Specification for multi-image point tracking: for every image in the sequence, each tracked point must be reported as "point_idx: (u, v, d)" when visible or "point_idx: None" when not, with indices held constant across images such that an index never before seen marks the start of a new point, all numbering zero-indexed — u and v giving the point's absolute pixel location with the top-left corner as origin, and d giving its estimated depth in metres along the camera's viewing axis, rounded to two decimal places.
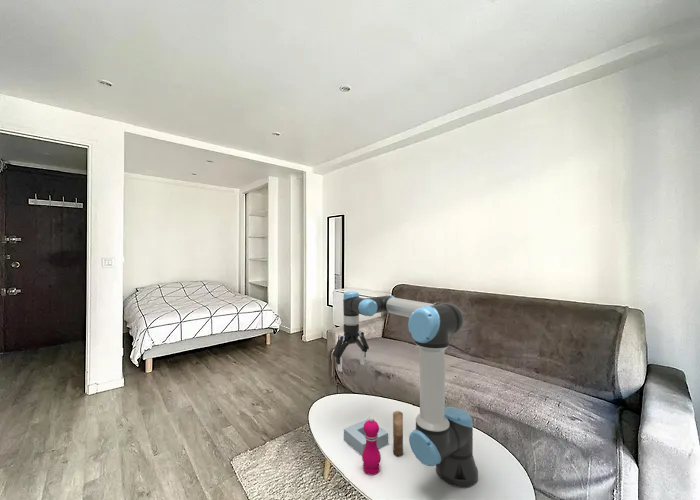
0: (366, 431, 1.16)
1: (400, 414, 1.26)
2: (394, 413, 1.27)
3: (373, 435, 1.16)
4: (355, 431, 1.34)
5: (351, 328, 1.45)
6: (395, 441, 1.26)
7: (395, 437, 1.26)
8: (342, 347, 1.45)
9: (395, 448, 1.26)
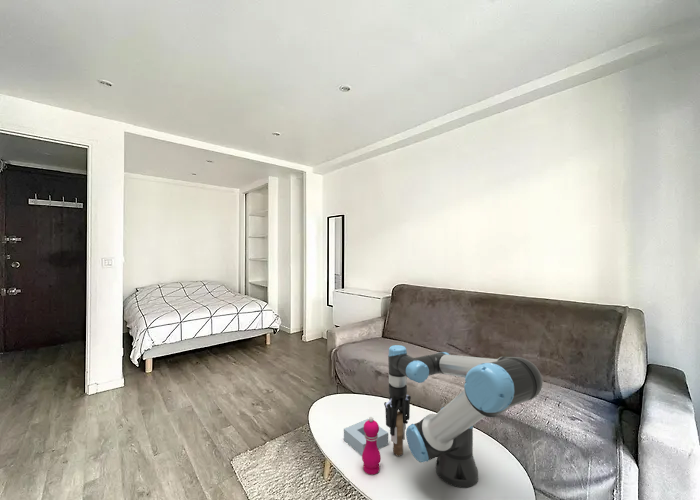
0: (366, 431, 1.16)
1: (400, 414, 1.26)
2: None
3: (373, 435, 1.16)
4: (355, 431, 1.34)
5: (399, 390, 1.24)
6: None
7: None
8: (393, 415, 1.25)
9: (395, 448, 1.26)
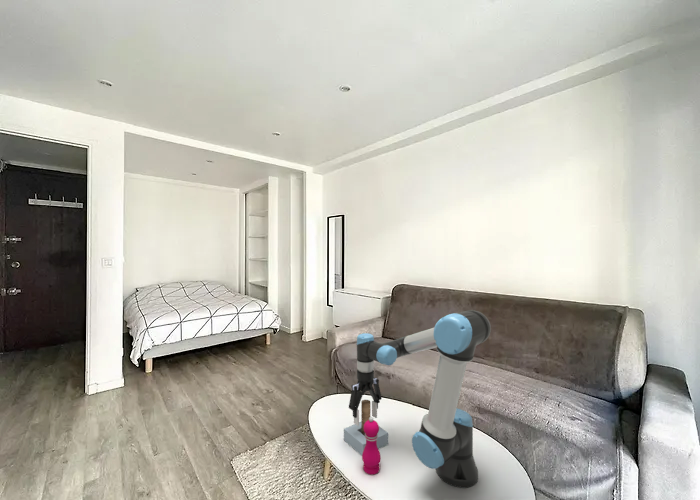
0: (366, 431, 1.16)
1: (368, 402, 1.34)
2: (362, 401, 1.35)
3: (373, 435, 1.16)
4: (355, 431, 1.34)
5: (365, 375, 1.31)
6: (363, 427, 1.34)
7: (363, 424, 1.34)
8: (357, 398, 1.32)
9: (363, 434, 1.34)
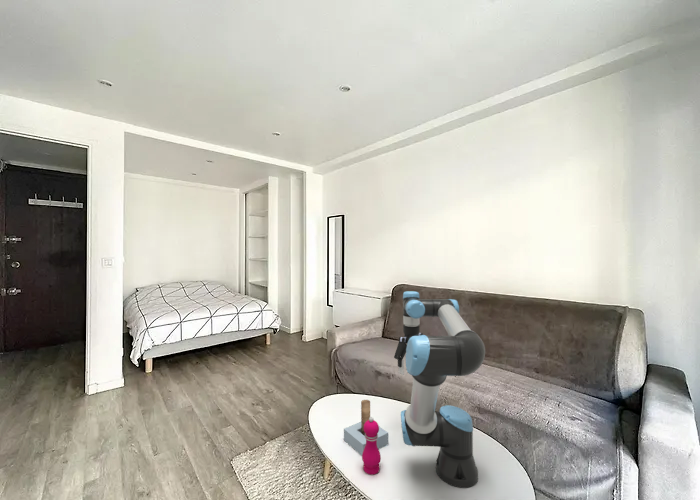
0: (366, 431, 1.16)
1: (367, 402, 1.34)
2: (362, 401, 1.35)
3: (373, 435, 1.16)
4: (355, 431, 1.34)
5: (413, 329, 1.39)
6: (363, 427, 1.34)
7: (363, 424, 1.34)
8: (403, 349, 1.39)
9: (363, 434, 1.34)
